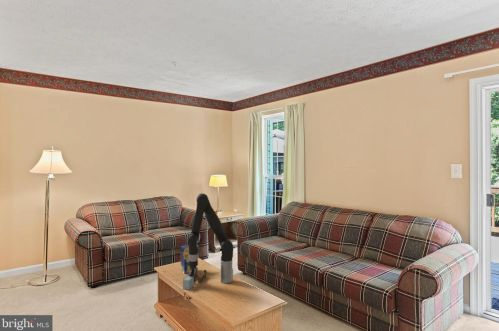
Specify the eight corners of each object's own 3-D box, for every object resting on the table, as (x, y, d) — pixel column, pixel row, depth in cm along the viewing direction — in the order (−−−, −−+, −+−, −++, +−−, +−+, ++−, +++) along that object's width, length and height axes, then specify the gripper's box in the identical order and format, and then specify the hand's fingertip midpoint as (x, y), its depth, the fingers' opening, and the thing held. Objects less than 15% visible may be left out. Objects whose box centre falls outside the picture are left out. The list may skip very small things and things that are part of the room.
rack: (206, 276, 253) (206, 269, 253) (199, 283, 239) (199, 275, 239) (195, 275, 255) (195, 268, 255) (188, 282, 241) (188, 274, 241)
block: (193, 285, 234) (193, 276, 234) (188, 289, 226) (188, 280, 226) (187, 284, 236) (187, 275, 236) (182, 288, 228) (182, 279, 228)
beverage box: (195, 270, 267) (195, 245, 268) (184, 273, 260) (184, 248, 260) (191, 268, 273) (191, 244, 273) (180, 271, 265) (180, 246, 265)
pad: (198, 276, 254) (198, 275, 254) (193, 280, 245) (193, 279, 245) (188, 275, 256) (188, 274, 256) (183, 279, 247) (183, 278, 247)
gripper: (194, 262, 231) (193, 285, 231) (200, 257, 244) (200, 279, 244) (185, 261, 233) (184, 284, 233) (192, 256, 246) (192, 278, 246)
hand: (193, 281), depth 238 cm, fingers closed
